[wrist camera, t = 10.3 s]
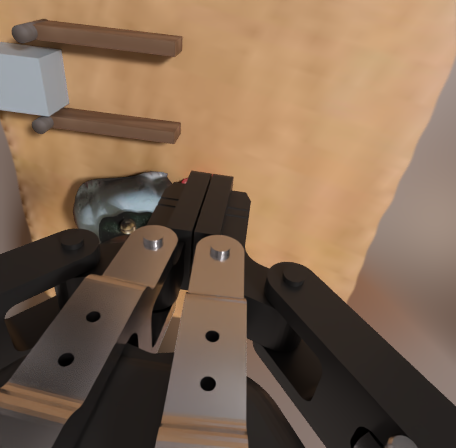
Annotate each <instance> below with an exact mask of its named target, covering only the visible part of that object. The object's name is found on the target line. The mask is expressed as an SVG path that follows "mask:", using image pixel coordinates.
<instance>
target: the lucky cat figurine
mask: <svg viewBox="0 0 456 448" xmlns="http://www.w3.org/2000/svg"><path fill="white" fill-rule="evenodd" d="M171 184H172V183H171V182H170V180H169V179H168V178H167V173H163V172H154V171H150V172H147V173H146V172H145V173H142V174H139V175H136V176H130V177H122V178H105V179H95V180H90V181H87V182H85V183H83V184H82V185H81V186H80V187H79V189H78V192H77V194H76V197H75V203H74V208H73V215H74V220H75V223H76V225H77V227H78V228H79V229H86V230H89V231H92V232H93V233H95V234H96V235H97V236H98V238H99V243H100V244H108V243H121V242H126V240H127V239H128V237H129V236H130V234H131V233H132V232H133V231H135V230H136V229H138V228H140V227H143V226H146V225H147V223H148V221H149V219H150V217H151V215H152V213H153V212H154V210H155V208H156V206H157V205H158V202H159V200H160V198H161V196H162V194H163V192H164V190H165V188H167V187H168V186H170V185H171Z"/></svg>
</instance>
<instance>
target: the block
mask: <svg viewBox="0 0 456 448" xmlns="http://www.w3.org/2000/svg"><path fill="white" fill-rule="evenodd" d="M67 104H69V98H68V91H67V84H66V78H65V71H64V64H63V58H62V51H61V49H53V48H45V47H37V46H29V45H21V44H13V43H5V42H0V110H4V111H11V112H19V113H26V114H34V115H41V116H51V115H52V114H54V113H55V112H57V111H58V110H60V109H61V108H63V107H64V106H66V105H67Z"/></svg>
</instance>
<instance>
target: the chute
mask: <svg viewBox="0 0 456 448" xmlns="http://www.w3.org/2000/svg"><path fill="white" fill-rule="evenodd" d="M12 35H13V37H14V39H15V40H16V41H17V42H19V43H27V42H30V41H33V40H41V41H49V42H57V43H66V44H74V45H82V46H90V47H98V48H106V49H115V50H123V51H131V52H139V53H147V54H155V55H164V56H172V57H176V56H177V55H178V54H179V53H180V52H181V51H182V36H173V35H165V34H157V33H148V32H140V31H132V30H123V29H115V28H107V27H98V26H90V25H82V24H73V23H65V22H57V21H48V20H46V19H41V20H37V21H33V22H28V23H24V24H20V25H16V26H14V27H13V28H12ZM32 128H33V129H34V131H35V132H37V133H39V134H43V133H45V132H46V131H48V130H49V129H50V128H57V129H65V130H72V131H80V132H87V133H95V134H102V135H110V136H117V137H125V138H132V139H140V140H147V141H155V142H162V143H170V144H175V142H176V141H177V139H178V137H179V135H180V133H181V123H179V122H172V121H164V120H156V119H148V118H141V117H133V116H125V115H118V114H110V113H102V112H95V111H87V110H79V109H72V108H64V107H63V108H61V109H60V110H58V111H57V112H55V113H54V114H52V115H51V116H41V117H39V118H37V119H36V120H34V121H33V122H32Z"/></svg>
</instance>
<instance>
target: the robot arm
mask: <svg viewBox="0 0 456 448" xmlns="http://www.w3.org/2000/svg"><path fill="white" fill-rule="evenodd" d="M232 187H233V177H231V176H224V175H218V174H213V176H212V174H210V173H204V172H197V171H191V173H190V175H189V177H188V180H187V182H186V184H185V183H178V182H174V183H173V184H171V185H170V186H168V187H167V188H165V190H164V192H163V194H162V196H161V198H160V200H159V202H158V205H157V206H156V208H155V210H154V212H153V213H152V215H151V217H150V219H149V221H148V223H147V225H146V226H143V227H140V228H138V229H136V230H135V231H133V232H132V233H131V234H130V236H129V237H128V239H127V240H126V242H121V243H108V244H100V243H99V238H98V236H97V235H96V234H95V233H93V232H92V231H89V230H86V229H68V230H64V231H61V232H58V233H56V234H53V235H50V236H48V237H45V238H42V239H40V240H37V241H34V242H32V243H29V244H26V245H24V246H21V247H18V248H16V249H13V250H10V251H8V252H5V253H2V254H0V448H305V447H304V445H303V444H302V442H301V441H300V439H299V437H298V436H297V434H296V433H295V431H294V430H293V428H292V427H291V425H290V424H289V422H288V421H287V419H286V418H285V416H284V415H283V413H282V412H281V410H280V408H279V407H278V405H277V404H276V403H275V401H274V400H273V399H272V398H271V397H270V395H269V394H268V393H267V392H266V391H265V390H264V389H263V388H262V387H260V385H258V384H257V383H256V382H254V381H253V380H252V379H250V378H249V377H247V376H246V353H247V352H246V349H247V342H246V341H247V338H248V339H250V340H252V341H253V347H254V349H255V351H256V353H257V354H258V356H259V357H260V358H261V360H262V361H263V362H264V364H265V365H266V366H267V368H268V369H269V370H270V372H271V373H272V375H273V376H274V377H275V379H276V380H277V381H278V383H279V384H280V385H281V387H282V388H283V389H284V391H285V392H286V394H287V395H288V396H289V397H290V399H291V400H292V402H293V403H294V404H295V406H296V407H297V408H298V410H299V411H300V412H301V414H302V415H303V416H304V418H305V419H306V421H307V422H308V423H309V424H310V426H311V427H312V429H313V430H314V431H315V433H316V434H317V436H318V437H319V438H320V440H321V441H322V442H323V444H324V445H325V446H326V448H456V406H455V405H454V404H453V403H452V402H451V401H449V400H448V399H447V398H446V397H445V396H444V395H443V394H442V393H441V392H440V391H439V390H438V389H437V388H436V387H435V386H433V385H432V384H431V383H430V382H429V381H428V380H427V379H426V378H425V377H424V376H423V375H422V374H421V373H420V372H419V371H418V370H416V369H415V368H414V367H413V366H412V365H411V364H410V363H409V362H408V361H407V360H406V359H405V358H403V356H402V355H400V354H399V353H398V352H397V351H396V350H395V349H394V348H393V347H392V346H391V345H390V344H389V343H388V342H387V341H386V340H385V339H383V338H382V337H381V336H380V335H379V334H378V333H377V332H376V331H375V330H374V329H373V328H372V327H371V326H370V325H369V324H367V323H366V322H365V321H364V320H363V319H362V318H361V317H360V316H359V315H358V314H357V313H356V312H355V311H354V310H353V309H352V308H350V307H349V306H348V305H347V304H346V303H345V302H344V301H343V300H342V299H341V298H340V297H339V296H338V295H337V294H336V293H334V292H333V291H332V290H331V289H330V288H329V287H328V286H327V285H326V284H325V283H324V282H323V281H322V280H321V279H320V278H319V277H317V276H316V275H315V274H314V273H313V272H312V271H311V270H310V269H308V268H307V267H305V266H303V265H300V264H298V263H293V262H281V263H277V264H275V265H273V266H272V267H271V268H270V269H269V268H267V267H264V266H262V265H260V264H258V263H256V262H255V261H253V260H252V259H251V258H250V257H249V256H248V254H247V253H246V250H245V241H246V234H247V226H248V218H249V211H250V204H251V201H250V199H249V197H248V195H247V194H246V193H245V192H238V191H232ZM53 287H55V292H56V296H54V297H52V298H50V299H48V300H46V301H44V302H42V303H40V304H38V305H36V306H33V307H31V308H29V309H27V310H25V311H23V312H21V313H19V314H17V315H15V316H13V317H10V318H8V319H4V318H5V315H6V313H7V311H8V310H9V309H10V308H11V307H13V306H14V305H16V304H18V303H20V302H22V301H24V300H27V299H29V298H31V297H33V296H35V295H38V294H40V293H42V292H44V291H46V290H48V289H51V288H53ZM180 289H183V290H188V292H186V294H185V299H184V304H183V310H182V315H181V320H180V326H179V331H178V336H177V342H176V347H175V352H174V353H158V354H157V351H158V349H159V347H160V344H161V342H162V339H163V337H164V334H165V332H166V330H167V327H168V325H169V322H170V320H171V318H172V315H173V313H174V310H175V306H176V299H177V297H178V294H179V291H180Z"/></svg>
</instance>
